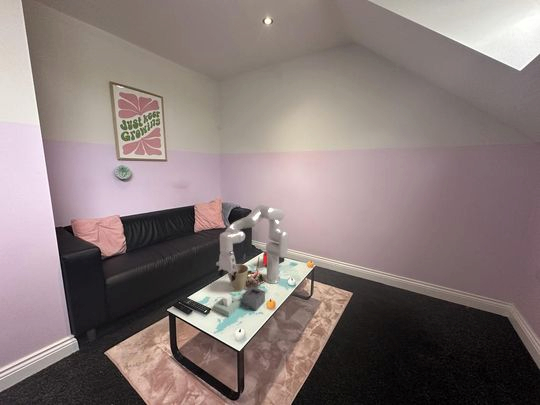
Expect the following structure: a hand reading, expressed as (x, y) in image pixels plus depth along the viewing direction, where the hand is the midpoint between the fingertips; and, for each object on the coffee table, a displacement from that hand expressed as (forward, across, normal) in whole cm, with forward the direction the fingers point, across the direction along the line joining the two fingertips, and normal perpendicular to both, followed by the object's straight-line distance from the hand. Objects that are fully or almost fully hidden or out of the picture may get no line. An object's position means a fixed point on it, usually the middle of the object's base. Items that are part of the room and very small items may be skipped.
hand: (227, 278), depth 129 cm
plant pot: (+21, +7, -19) cm, 30 cm away
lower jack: (+21, 0, +1) cm, 21 cm away
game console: (+22, +2, -68) cm, 72 cm away
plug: (+20, 0, +1) cm, 20 cm away
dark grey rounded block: (+21, -12, -11) cm, 27 cm away
